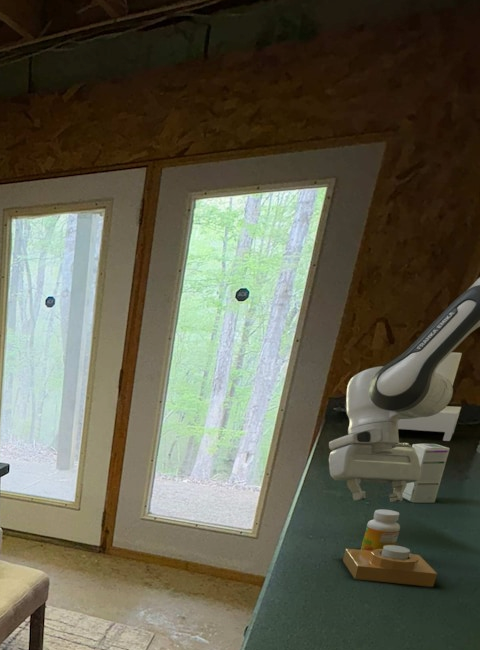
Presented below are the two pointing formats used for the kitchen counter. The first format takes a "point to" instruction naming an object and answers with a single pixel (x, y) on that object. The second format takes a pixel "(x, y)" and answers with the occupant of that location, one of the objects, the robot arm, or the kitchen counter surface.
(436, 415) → the white toy chair
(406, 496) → the syrup box
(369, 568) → the button base
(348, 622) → the kitchen counter surface
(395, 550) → the grey button cap
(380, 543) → the supplement bottle
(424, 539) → the kitchen counter surface
